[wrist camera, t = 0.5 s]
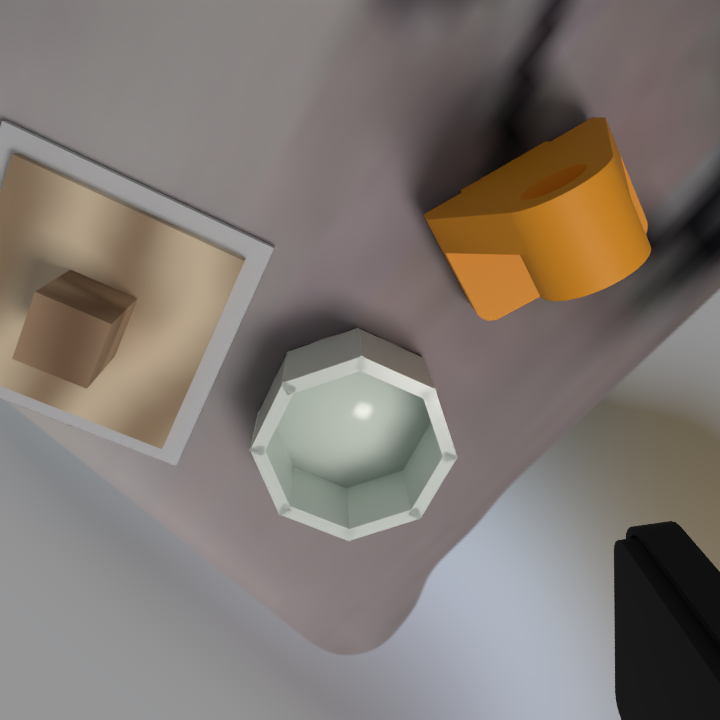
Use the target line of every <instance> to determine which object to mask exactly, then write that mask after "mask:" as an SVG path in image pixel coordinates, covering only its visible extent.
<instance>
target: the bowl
mask: <svg viewBox="0 0 720 720" xmlns="http://www.w3.org/2000/svg"><path fill="white" fill-rule="evenodd" d="M250 451H251V453H252V455H253V457H254V460H255V462H256V464H257V466H258V468H259V471H260V473H261V475H262V477H263V479H264V482H265V484H266V486H267V488H268V491H269V493H270V495H271V497H272V499H273V502H274V504H275V506H276V508H277V510H278V514H279V515H282V516H285V517H288V518H290V519H293V520H295V521H298V522H301V523H303V524H306V525H308V526H311V527H314V528H316V529H319V530H321V531H324V532H327V533H329V534H332V535H334V536H337V537H340V538H342V539H345V540H347V541H350V540H353V539H357V538H360V537H363V536H366V535H369V534H372V533H376V532H379V531H382V530H385V529H388V528H392V527H395V526H398V525H401V524H404V523H407V522H411V521H414V520H417V519H420V518H422V515H423V513H424V512H425V510H426V508H427V507H428V505H429V503H430V502H431V500H432V498H433V497H434V495H435V493H436V492H437V490H438V488H439V487H440V485H441V483H442V482H443V480H444V479H445V477H446V475H447V474H448V472H449V470H450V469H451V467H452V465H453V464H454V462H455V460H456V459H458V458H457V457H458V455H457V452H456V450H455V447H454V445H453V442H452V439H451V437H450V433H449V430H448V427H447V424H446V421H445V418H444V415H443V412H442V409H441V406H440V403H439V400H438V397H437V393H436V388H435V385H434V382H433V380H432V377H431V375H430V372H429V370H428V367H427V365H426V362H425V360H424V358H423V357H420V356H418V355H416V354H413V353H411V352H409V351H407V350H405V349H402V348H401V347H399V346H397V345H396V344H394V343H392V342H390V341H387V340H385V339H382V338H379V337H376V336H374V335H372V334H370V333H367V332H365V331H363V330H361V329H359V328H356V329H353V330H350V331H347V332H345V333H342V334H339V335H334V336H330V337H326V338H323V339H320V340H318V341H315V342H313V343H311V344H309V345H306V346H303V347H300V348H297V349H294V350H291V351H288V352H287V353H286V357H285V359H284V361H283V363H282V365H281V367H280V369H279V371H278V373H277V375H276V377H275V379H274V381H273V383H272V385H271V388H270V390H269V392H268V394H267V396H266V398H265V400H264V402H263V404H262V406H261V408H260V410H259V411H258V414H257V418H256V423H255V427H254V432H253V436H252V440H251V445H250Z"/></svg>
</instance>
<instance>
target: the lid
mask: <svg viewBox="0 0 720 720" xmlns="http://www.w3.org/2000/svg"><path fill="white" fill-rule="evenodd" d="M245 259H246V258H244V257H242V256H240V255H238V254H236V253H234V252H231V251H229V250H227V249H225V248H223V247H221V246H219V245H216V244H214V243H212V242H210V241H208V240H206V239H203V238H201V237H199V236H197V235H195V234H193V233H190V232H188V231H186V230H184V229H182V228H180V227H177V226H175V225H173V224H171V223H169V222H167V221H164V220H162V219H160V218H158V217H156V216H154V215H151V214H149V213H147V212H145V211H143V210H141V209H138V208H136V207H134V206H132V205H130V204H128V203H125V202H123V201H121V200H119V199H117V198H115V197H112V196H110V195H108V194H106V193H104V192H102V191H99V190H97V189H95V188H93V187H91V186H89V185H87V184H84V183H82V182H80V181H78V180H76V179H74V178H71V177H69V176H67V175H65V174H63V173H61V172H58V171H56V170H54V169H52V168H50V167H48V166H45V165H43V164H41V163H39V162H37V161H35V160H32V159H30V158H28V157H26V156H24V155H22V154H19V153H14V154H12V155H11V158H10V162H9V165H8V168H7V171H6V175H5V178H4V181H3V184H2V188H1V191H0V386H1V387H4V388H7V389H9V390H12V391H14V392H17V393H19V394H22V395H24V396H27V397H30V398H32V399H35V400H37V401H40V402H42V403H45V404H47V405H50V406H53V407H55V408H58V409H60V410H63V411H65V412H68V413H70V414H73V415H76V416H78V417H81V418H83V419H86V420H88V421H91V422H93V423H96V424H99V425H101V426H104V427H106V428H109V429H111V430H114V431H116V432H119V433H122V434H124V435H127V436H129V437H132V438H134V439H137V440H139V441H142V442H144V443H147V444H150V445H152V446H155V447H157V448H160V449H162V448H163V446H164V444H165V442H166V440H167V437H168V435H169V433H170V430H171V428H172V426H173V424H174V421H175V419H176V417H177V414H178V412H179V410H180V408H181V405H182V403H183V401H184V399H185V396H186V394H187V392H188V389H189V387H190V385H191V383H192V380H193V378H194V376H195V373H196V371H197V369H198V367H199V364H200V362H201V360H202V357H203V355H204V353H205V351H206V348H207V346H208V344H209V342H210V339H211V337H212V335H213V332H214V330H215V328H216V326H217V323H218V321H219V319H220V316H221V314H222V312H223V310H224V307H225V305H226V303H227V301H228V298H229V296H230V294H231V291H232V289H233V287H234V285H235V282H236V280H237V278H238V275H239V273H240V271H241V269H242V266H243V264H244V262H245Z"/></svg>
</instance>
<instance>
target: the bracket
mask: <svg viewBox="0 0 720 720" xmlns="http://www.w3.org/2000/svg"><path fill="white" fill-rule="evenodd" d="M460 191H461V193H460V194H458V195H457V196H455V197H453V198H451V199H450V200H448V201H446V202H444V203H443V204H441V205H439V206H437V207H436V208H434V209H432V210H431V211H429V212H427V213H425V214H424V217H425V219H426V221H427V223H428V225H429V227H430V229H431V231H432V233H433V234H434V236H435V238H436V240H437V242H438V244H439V246H440V248H441V250H442V251H443V253H444V255H445V257H446V259H447V261H448V263H449V265H450V267H451V269H452V270H453V272H454V274H455V276H456V278H457V280H458V282H459V284H460V286H461V288H462V289H463V291H464V293H465V295H466V297H467V299H468V301H469V303H470V304H471V306H472V307H473V309H474V310H475V311H476V313H477V314H478V315H479V316H480V317H481V318H483V319H485V320H489V321H492V320H497V319H499V318H501V317H503V316H505V315H507V314H508V313H510V312H512V311H514V310H516V309H518V308H520V307H521V306H523V305H525V304H527V303H529V302H531V301H532V300H534V299H536V298H538V297H540V296H541V297H542V298H543V299H546V300H550V301H564V300H571V299H575V298H579V297H583V296H586V295H589V294H592V293H595V292H597V291H600V290H602V289H605V288H607V287H609V286H611V285H613V284H615V283H617V282H618V281H620V280H622V279H624V278H625V277H627V276H628V275H630V274H631V273H633V272H634V271H635V270H636V269H638V268H639V267H640V266H641V265H642V264H643V263H644V262H645V261H646V259H647V258H648V256H649V255H650V252H651V246H650V244H649V241H648V239H647V236H646V232H647V227H648V225H647V220H646V217H645V215H644V212H643V210H642V207H641V205H640V202H639V200H638V198H637V195H636V193H635V190H634V188H633V185H632V183H631V180H630V178H629V175H628V173H627V170H626V168H625V165H624V163H623V160H622V158H621V155H620V153H619V150H618V148H617V145H616V143H615V141H614V138H613V136H612V133H611V131H610V128H609V126H608V123H607V121H606V118H591V119H589V120H587V121H585V122H584V123H582V124H580V125H578V126H577V127H575V128H573V129H571V130H570V131H568V132H566V133H564V134H563V135H561V136H559V137H558V138H556V139H554V140H552V141H551V142H550V141H545V142H544V143H542V144H540V145H538V146H537V147H535V148H533V149H531V150H530V151H528V152H526V153H525V154H523V155H521V156H519V157H518V158H516V159H514V160H512V161H511V162H509V163H507V164H505V165H504V166H502V167H500V168H498V169H497V170H495V171H493V172H492V173H490V174H488V175H486V176H485V177H483V178H481V179H479V180H478V181H476V182H474V183H472V184H471V185H469V186H467V187H465V188H464V189H462V190H460Z"/></svg>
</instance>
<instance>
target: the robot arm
mask: <svg viewBox="0 0 720 720" xmlns="http://www.w3.org/2000/svg"><path fill="white" fill-rule="evenodd" d="M614 593H615V595H614V597H615V693H616V702H617V706H618V711H619V714H620V717H621V720H720V572H719V571H718V569H717V568H716V567H715V566H714V565H713V564H712V563H711V562H710V560H709V559H708V558H707V557H706V556H705V554H704V553H703V552H702V551H701V550H700V549H699V547H698V546H697V545H696V544H695V543H694V542H693V541H692V539H691V538H690V537H689V536H688V535H687V534H686V532H685V531H684V530H683V529H682V528H681V527H680V526H679V525H678V524H677V523H676V522H672V521H669V522H662V523H655V524H648V525H641V526H634V527H630V528H629V529H628V531H627V533H626V539H623V540H618V541H616V542H615V545H614Z"/></svg>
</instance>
